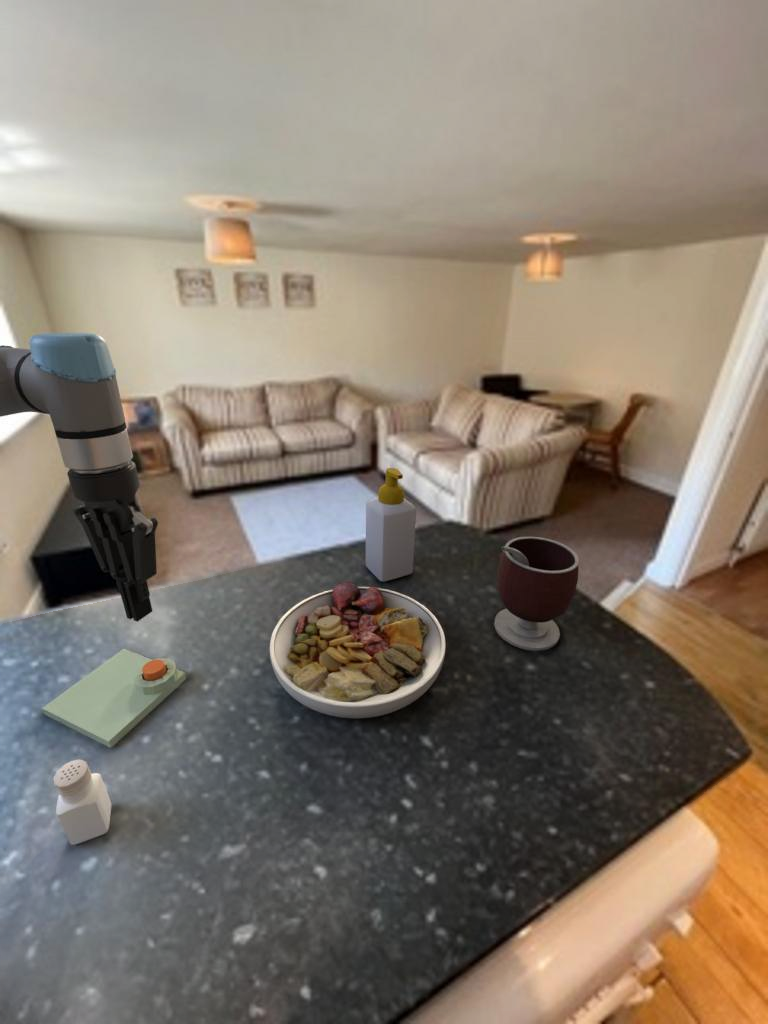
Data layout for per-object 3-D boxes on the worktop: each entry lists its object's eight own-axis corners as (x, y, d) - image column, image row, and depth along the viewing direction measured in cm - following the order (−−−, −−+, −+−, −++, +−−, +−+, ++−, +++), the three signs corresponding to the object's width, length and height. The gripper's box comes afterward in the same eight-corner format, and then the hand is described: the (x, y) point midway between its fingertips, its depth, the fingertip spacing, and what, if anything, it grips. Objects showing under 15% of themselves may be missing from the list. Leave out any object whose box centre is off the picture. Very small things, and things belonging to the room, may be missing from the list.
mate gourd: (532, 601, 96) (548, 517, 87) (579, 643, 84) (604, 551, 76) (469, 617, 91) (480, 529, 82) (511, 664, 79) (529, 567, 70)
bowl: (473, 706, 70) (478, 668, 67) (278, 751, 63) (274, 711, 59) (410, 596, 96) (412, 565, 93) (267, 619, 89) (263, 586, 85)
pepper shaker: (75, 815, 54) (52, 763, 50) (113, 802, 56) (93, 750, 52) (69, 849, 51) (44, 796, 47) (109, 834, 52) (88, 781, 48)
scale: (44, 714, 67) (38, 700, 66) (125, 654, 79) (121, 641, 78) (111, 748, 62) (105, 733, 61) (187, 678, 74) (184, 664, 73)
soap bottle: (381, 584, 100) (383, 480, 90) (363, 565, 107) (363, 466, 97) (414, 574, 104) (421, 473, 94) (395, 557, 111) (399, 461, 101)
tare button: (139, 677, 71) (137, 670, 70) (156, 664, 74) (154, 656, 73) (154, 683, 70) (152, 676, 69) (170, 670, 72) (169, 662, 72)
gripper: (165, 463, 58) (194, 611, 67) (91, 449, 62) (128, 590, 72) (113, 482, 51) (153, 643, 61) (35, 465, 56) (84, 617, 66)
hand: (139, 614), depth 67 cm, fingers closed
